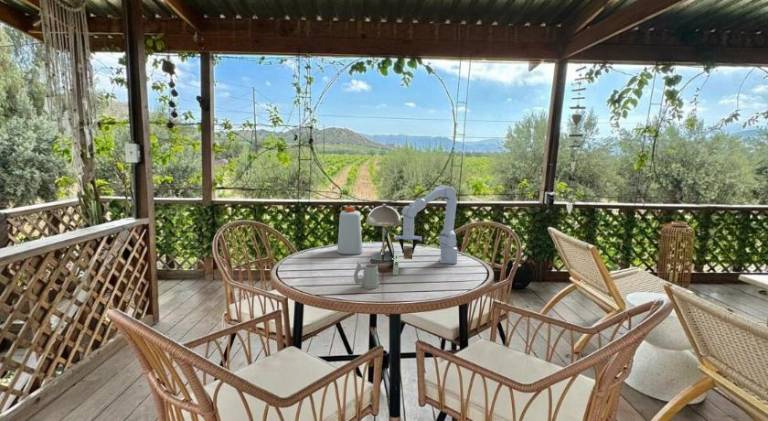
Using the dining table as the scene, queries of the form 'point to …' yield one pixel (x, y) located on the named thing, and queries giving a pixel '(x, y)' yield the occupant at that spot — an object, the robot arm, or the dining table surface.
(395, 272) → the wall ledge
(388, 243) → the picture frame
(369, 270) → the mug
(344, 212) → the plastic bottle
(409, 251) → the frame block
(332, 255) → the dining table surface
